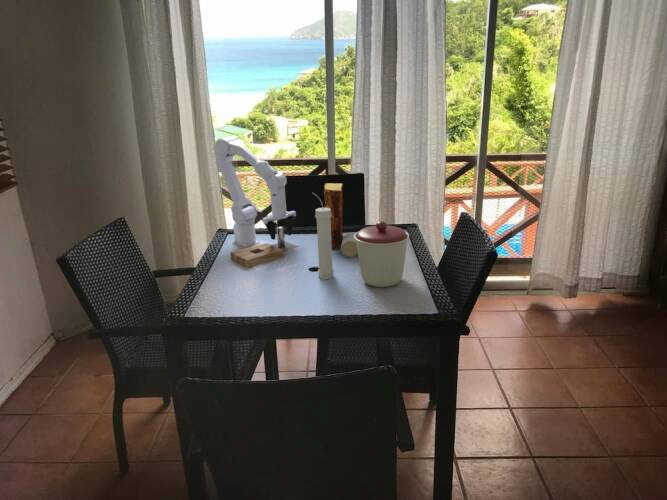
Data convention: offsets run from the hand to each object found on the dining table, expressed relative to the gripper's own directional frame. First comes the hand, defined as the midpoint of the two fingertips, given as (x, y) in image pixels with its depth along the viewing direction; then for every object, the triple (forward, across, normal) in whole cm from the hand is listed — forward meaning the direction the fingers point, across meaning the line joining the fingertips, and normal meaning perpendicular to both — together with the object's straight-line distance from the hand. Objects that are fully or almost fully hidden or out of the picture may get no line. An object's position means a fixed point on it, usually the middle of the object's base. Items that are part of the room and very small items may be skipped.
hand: (281, 236), depth 223 cm
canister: (+5, +4, -54) cm, 54 cm away
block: (+4, -14, -4) cm, 15 cm away
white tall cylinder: (+5, -7, -37) cm, 38 cm away
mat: (+5, 0, 0) cm, 5 cm away
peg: (+4, 0, 0) cm, 4 cm away
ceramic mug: (+5, +15, -27) cm, 32 cm away
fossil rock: (+5, +19, -11) cm, 22 cm away
